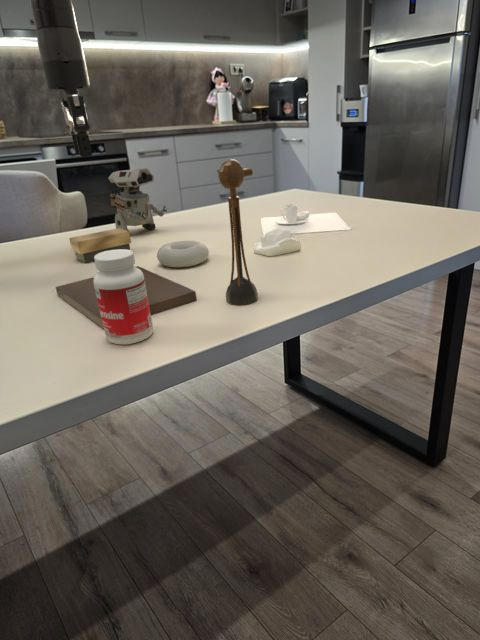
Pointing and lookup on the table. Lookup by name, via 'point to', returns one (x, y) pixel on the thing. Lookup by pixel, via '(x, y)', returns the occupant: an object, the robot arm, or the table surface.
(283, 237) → the white lumpy piece
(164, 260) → the donut
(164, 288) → the board
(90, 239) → the brush
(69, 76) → the robot arm
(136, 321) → the pill bottle
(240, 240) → the wooden tabletop sculpture
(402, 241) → the table surface
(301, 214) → the teacup and saucer
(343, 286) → the table surface
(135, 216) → the figurine
